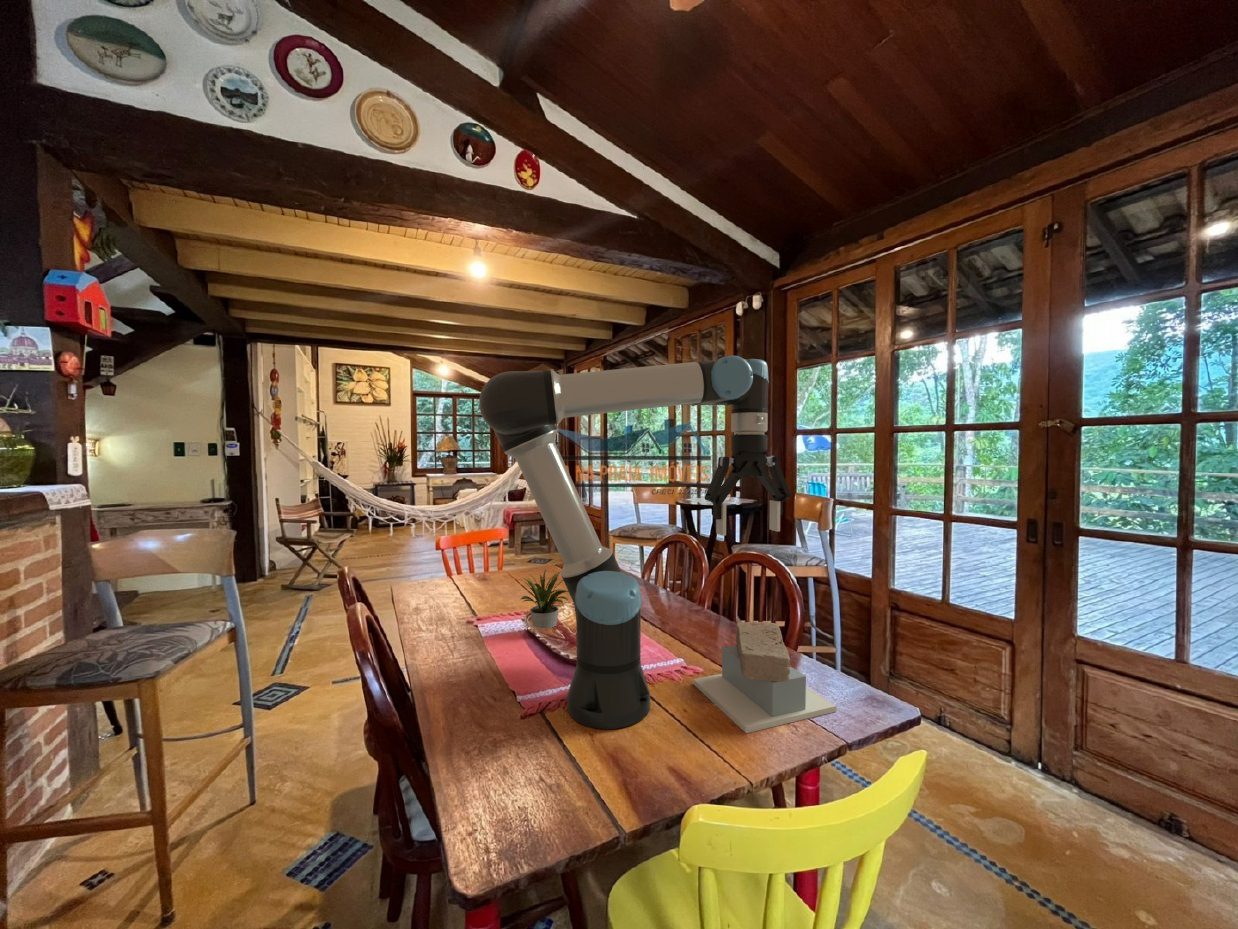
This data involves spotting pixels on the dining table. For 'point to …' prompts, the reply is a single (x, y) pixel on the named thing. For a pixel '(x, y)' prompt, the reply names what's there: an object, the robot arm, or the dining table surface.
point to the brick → (762, 651)
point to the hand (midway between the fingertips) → (748, 532)
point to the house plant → (545, 602)
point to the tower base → (751, 709)
